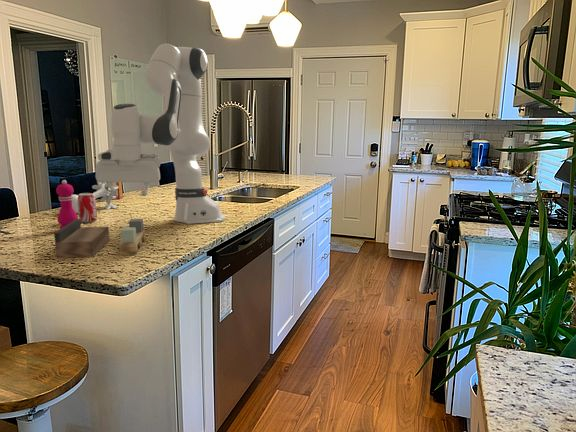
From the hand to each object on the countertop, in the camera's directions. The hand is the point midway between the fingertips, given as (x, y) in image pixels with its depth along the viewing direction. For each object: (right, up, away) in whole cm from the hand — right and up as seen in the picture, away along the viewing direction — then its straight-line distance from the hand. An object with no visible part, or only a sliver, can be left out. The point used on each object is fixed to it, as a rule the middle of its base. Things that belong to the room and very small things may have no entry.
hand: (129, 195), depth 147 cm
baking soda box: (-45, +3, +97) cm, 106 cm away
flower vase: (-40, -4, +64) cm, 75 cm away
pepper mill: (-33, -13, +26) cm, 44 cm away
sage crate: (+1, -15, -3) cm, 15 cm away
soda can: (-33, -9, +41) cm, 53 cm away
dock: (-16, -18, +2) cm, 24 cm away
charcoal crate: (-1, -12, +9) cm, 15 cm away
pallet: (0, -18, +4) cm, 18 cm away
